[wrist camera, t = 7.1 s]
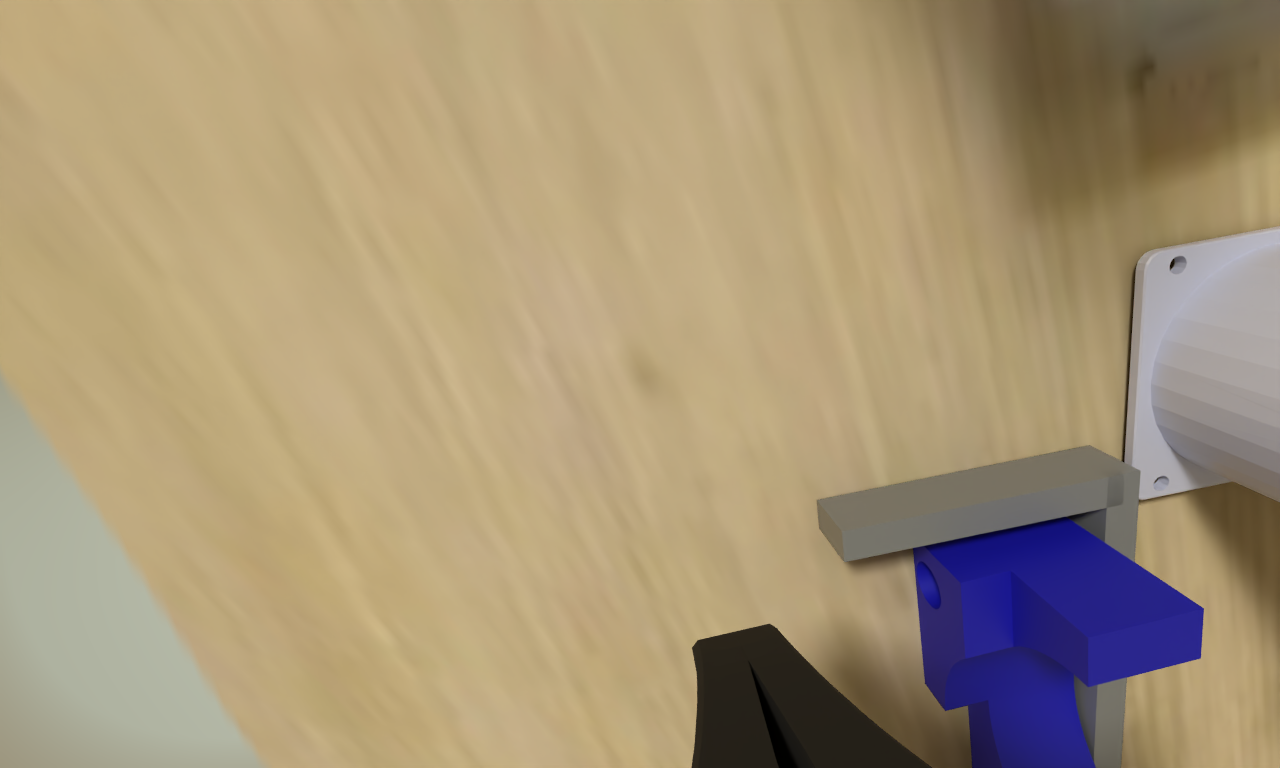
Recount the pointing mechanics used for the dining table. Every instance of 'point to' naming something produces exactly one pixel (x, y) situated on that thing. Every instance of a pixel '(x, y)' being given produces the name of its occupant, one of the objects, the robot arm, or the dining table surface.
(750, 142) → the dining table surface
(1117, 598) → the blue plastic bracket
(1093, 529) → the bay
